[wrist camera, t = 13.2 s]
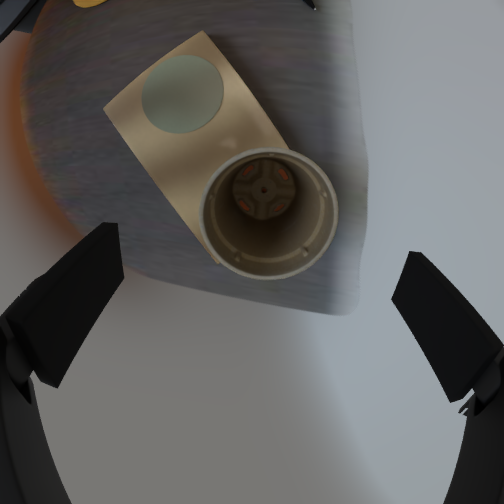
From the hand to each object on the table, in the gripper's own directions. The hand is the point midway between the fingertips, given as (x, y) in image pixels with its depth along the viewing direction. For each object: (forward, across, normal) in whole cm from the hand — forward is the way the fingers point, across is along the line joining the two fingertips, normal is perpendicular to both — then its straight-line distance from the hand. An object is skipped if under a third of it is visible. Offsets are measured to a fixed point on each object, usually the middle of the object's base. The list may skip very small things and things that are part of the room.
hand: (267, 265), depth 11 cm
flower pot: (+16, +1, -1) cm, 16 cm away
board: (+17, -5, +3) cm, 18 cm away
